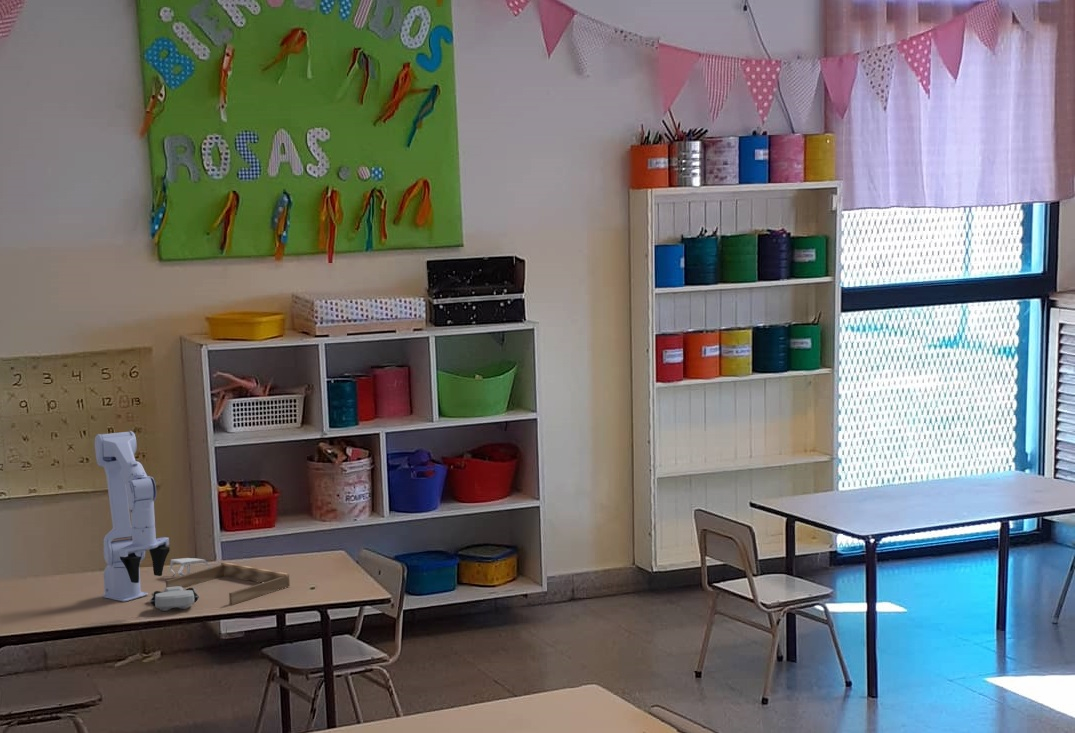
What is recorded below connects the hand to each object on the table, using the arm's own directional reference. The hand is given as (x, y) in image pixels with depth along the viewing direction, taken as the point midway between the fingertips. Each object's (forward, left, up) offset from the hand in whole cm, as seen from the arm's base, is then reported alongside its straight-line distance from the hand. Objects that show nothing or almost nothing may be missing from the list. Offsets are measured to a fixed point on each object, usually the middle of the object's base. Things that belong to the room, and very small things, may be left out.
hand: (146, 578), depth 347 cm
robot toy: (-2, +10, -10) cm, 14 cm away
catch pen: (-2, +28, -10) cm, 29 cm away
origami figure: (-21, +32, -10) cm, 39 cm away
